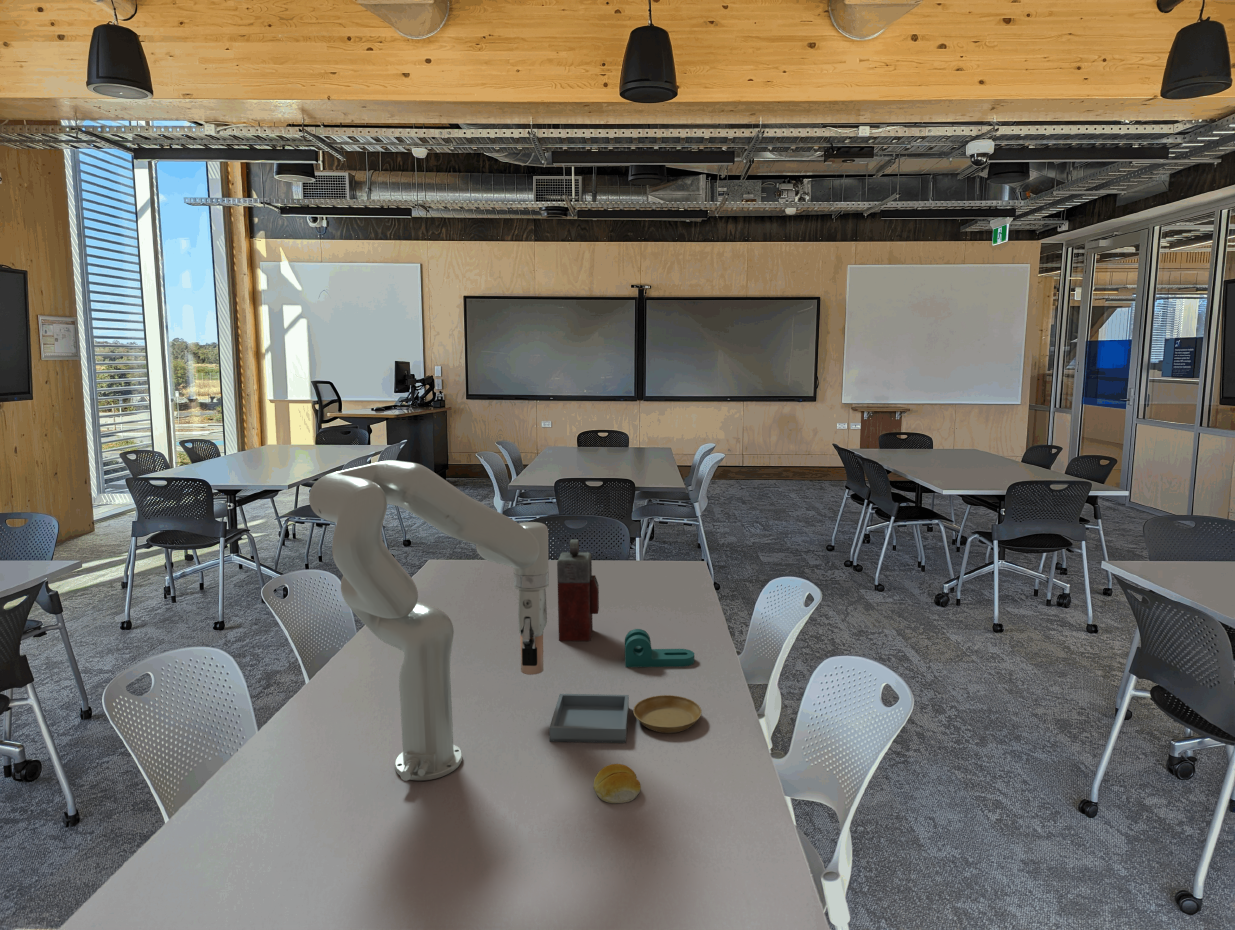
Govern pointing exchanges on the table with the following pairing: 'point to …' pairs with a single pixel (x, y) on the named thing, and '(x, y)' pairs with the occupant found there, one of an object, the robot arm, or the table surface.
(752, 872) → the table surface
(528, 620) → the robot arm
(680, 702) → the plant saucer
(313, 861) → the table surface
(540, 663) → the shaker
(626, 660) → the bracket
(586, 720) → the slate tray
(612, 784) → the bread roll
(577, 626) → the red gray rectangular canister
